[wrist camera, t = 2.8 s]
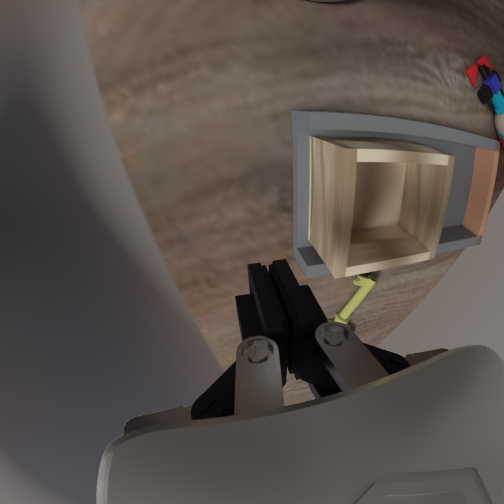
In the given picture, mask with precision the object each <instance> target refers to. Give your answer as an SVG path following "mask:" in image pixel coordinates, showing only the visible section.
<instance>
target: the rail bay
mask: <svg viewBox="0 0 504 504" xmlns="http://www.w3.org/2000/svg"><path fill="white" fill-rule="evenodd" d="M291 120H292V151H293V254H294V256H295V258H296V259H297V261H298V263H299V265H300V267H301V269H302V270H303V272H304V274H305V276H306V278H313V277H319V276H325V275H330V274H332V273H331V272H330V270H329V269H328V267H327V266H326V264H325V263H324V261H323V260H322V259H321V257H320V256H319V254H318V253H317V251H316V250H315V248H314V247H313V246H312V244H311V243H310V241H309V240H308V230H309V189H310V142H309V136H358V137H377V138H391V139H402V140H410V141H413V142H416V143H419V144H422V145H426V146H428V147H431V148H434V149H437V150H440V151H443V152H445V153H448V154H451V155H453V156H455V160H454V168H453V175H452V182H451V188H450V194H449V199H448V205H447V210H446V214H445V219H444V223H443V228H442V232H441V236H440V240H439V243H438V247H437V251H436V254H439V253H443V252H448V251H452V250H457V249H461V248H465V247H470V246H474V245H478V244H480V242H481V239H482V235H483V232H484V228H485V224H486V221H487V217H488V213H489V209H490V204H491V200H492V195H493V190H494V185H495V179H496V173H497V166H498V158H499V149H500V142H499V141H496V140H493V139H490V138H487V137H485V136H482V135H478V134H475V133H472V132H468V131H464V130H460V129H456V128H452V127H448V126H443V125H439V124H434V123H429V122H424V121H418V120H412V119H406V118H399V117H392V116H384V115H376V114H366V113H354V112H340V111H314V110H291Z"/></svg>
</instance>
